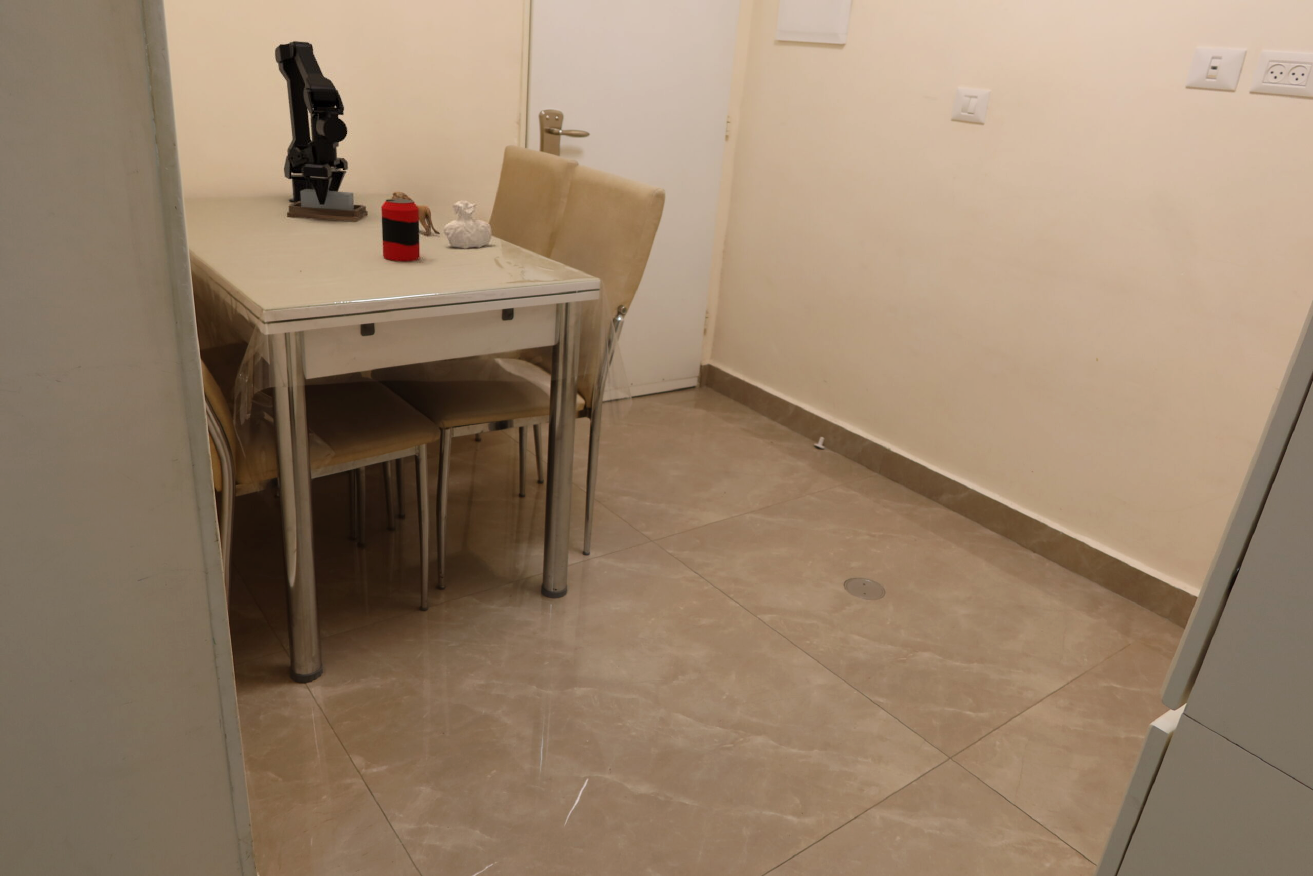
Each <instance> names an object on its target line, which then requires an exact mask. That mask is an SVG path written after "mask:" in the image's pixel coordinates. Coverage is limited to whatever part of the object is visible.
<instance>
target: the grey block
mask: <svg viewBox="0 0 1313 876" xmlns="http://www.w3.org/2000/svg"><path fill="white" fill-rule="evenodd" d="M300 193H301V207H312V208H326V209H339V210H352V211H354V205H355V203H354V201H355V200H354V198H355V197H354V192H348V191H339V190H338V191H329V190H328V194H327V198H326V201H325V204H324V205H320V204H319V201H318V198H317V195H316V192H315V190H312V189H304V190H302V191H300Z"/></svg>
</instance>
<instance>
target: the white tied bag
mask: <svg viewBox="0 0 1313 876" xmlns="http://www.w3.org/2000/svg"><path fill="white" fill-rule="evenodd" d="M476 206H477V203H471V202H469V201H468V200H462V199H461V200H458V201H457V202H455V203H454V204H453V205H452V208H453V212H454V215H458V217H457V220H455V219H454V220H451V221H449V223H446V224H445V226H444V227H443V233H444V235H445V236H446V238H447V240H448V244H449V245H450V246H451V248H452V247H453V248H461V249H464V250H466V249H468V248H481V247H483V246H487V245H489V244H490V242H491V240H492V228H491V225H490V224H489V223H488V222H487V221H483V220H482V219H480V220H479V219H474V218H473V214H474V212H476V210H475V209H476Z"/></svg>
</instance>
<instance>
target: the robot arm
mask: <svg viewBox="0 0 1313 876" xmlns="http://www.w3.org/2000/svg"><path fill="white" fill-rule="evenodd" d="M274 58H275V62H276V63H277V64H278V71H279V72H280V74H281V75H282V77H283V78H284V80H285V81H286V88H287V97H288V106H289V117H290V126H291V127H290V128H291V136H292V137H291V138H292V139H291V142H290V143H289V145H288V147H287V155H286V157H285V161H284V162H285V163H284V168H283V173H284V178H286V179H288V180H291V184H292V185H291V186H292V187H291V188H292V198H290V199H288V202H290V203H296V202H298V201H301V193H300V191H302V190H304V189H312V190H315V192H316V195H317V198H318V201H319V204H320V205H324V204H325V201H326V198H327V194H328V191H338V192H339V190H340V188H341V185H342V183H343V180H344V178H345V176H346V174H347V171H348V169H349V165H348V164H349V162H348V161H347V160H346V159H345V158H344V157H338V149H337V147H339V145H340V142H343V141H344V140H345V139H346V137H347V135H348V127H347V125H346V123H345V121H344V120H343V119H341V118H339V116H344V113H345V112H344V111H345V106H344V103H343V100H342V98H341V95H340V93H339V90H338V89H337V87H336V86H335V85H334V83H333V81H332V80H331V79H329V78H327V77H325V76H324V74H323V72H322V70H321V68H320V66H319V65H320V64H319V63H318V60H317V59H316V55H315V53H314V47H313V44H312V43H310V42H308V41H298V40H297V41H296V40H293V41H290V42H289V43H286V44H285V43H284V44H283V43H282V44H281V43H280V44H279V45H278V46H276V48H275V50H274ZM309 115H310V117H309Z"/></svg>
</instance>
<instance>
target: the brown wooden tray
mask: <svg viewBox="0 0 1313 876" xmlns="http://www.w3.org/2000/svg"><path fill="white" fill-rule="evenodd" d="M367 216H368V210H367V206H366V205H363V204H354V211H352V210H339V209H326V208H312V207H301V201H298V202H292V203H291V204H289V205H288V212H287V211H286V217H287V218H297V217H298V218H299V219H310V218H313V219H315V220H325V221H326V220H327V221H336V222H337V221H340V222H350V223H351V222H352V223H353V222H354V223H356V222H357V223H358V221H360V220H362V219H363V218H365V217H367Z"/></svg>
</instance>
